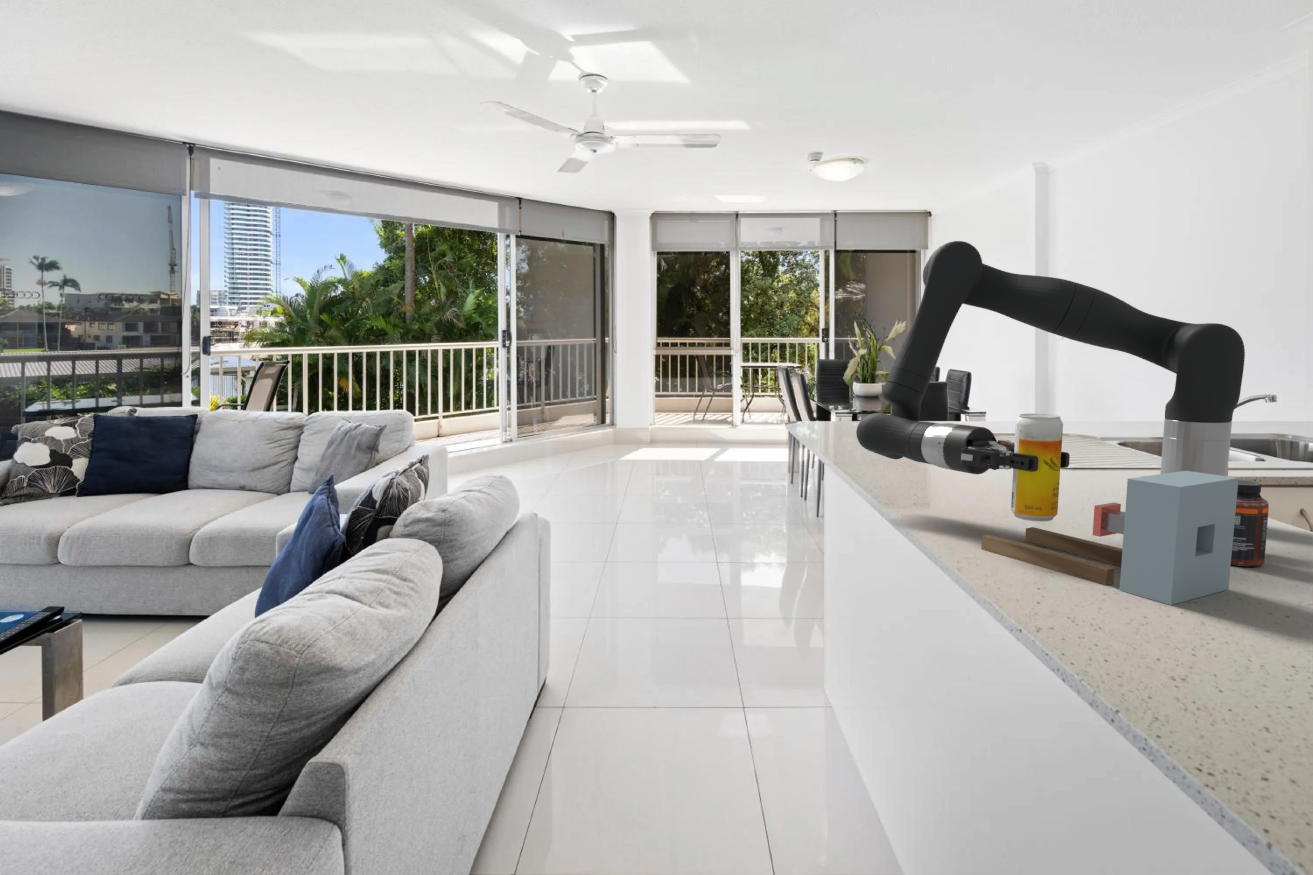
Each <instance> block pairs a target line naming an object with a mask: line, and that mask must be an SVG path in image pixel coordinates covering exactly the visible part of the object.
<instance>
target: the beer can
mask: <svg viewBox="0 0 1313 875" xmlns="http://www.w3.org/2000/svg"><path fill="white" fill-rule="evenodd" d="M1063 430H1064V423H1063V420H1062V418H1061V415H1058V414H1053V413H1052V414H1051V413H1050V414H1049V413H1021V414H1019V416H1018V418H1017V420H1016V421H1015V431H1014V432H1015V433H1014V442H1015V446H1014V453H1020V454H1026V455H1033V456H1037V457H1038V470H1037V471H1034V472H1030V471H1024V470H1018V469H1013V468H1012V485H1011V486H1012V487H1011V501H1010V502H1011V504H1010V511H1011V512H1012V513H1013V514H1014V517H1016V518H1017V519H1020V520H1024V521H1029V522H1051V521H1053V520H1054V518H1055V517H1056V516H1057V515H1058V512H1059V511H1058V510H1059V509H1058V508H1059V495H1060V479H1061V478H1060V477H1061V467H1060V466H1061V452H1062V451H1063V450H1062V447H1063V446H1062V445H1063V432H1064V431H1063Z"/></svg>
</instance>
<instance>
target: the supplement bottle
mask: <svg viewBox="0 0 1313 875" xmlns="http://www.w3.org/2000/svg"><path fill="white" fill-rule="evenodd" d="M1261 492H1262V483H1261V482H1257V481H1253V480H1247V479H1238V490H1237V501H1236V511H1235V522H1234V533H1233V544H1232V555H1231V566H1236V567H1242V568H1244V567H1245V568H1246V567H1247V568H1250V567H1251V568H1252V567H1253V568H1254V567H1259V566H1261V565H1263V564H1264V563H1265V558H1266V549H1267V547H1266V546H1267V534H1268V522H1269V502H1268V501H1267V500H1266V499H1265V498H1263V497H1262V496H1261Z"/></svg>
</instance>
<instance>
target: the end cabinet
mask: <svg viewBox="0 0 1313 875" xmlns="http://www.w3.org/2000/svg"><path fill="white" fill-rule="evenodd" d="M1238 480H1240V479H1239V477H1234V476H1233V477H1232V476H1229V475H1228V476H1220V475H1213V474H1206V473H1199V472H1192V471H1180V472H1173V473H1165V474H1159V473H1158V474H1152V475H1146V476H1138V477H1130V478H1127V482H1126V496H1125V498H1126V499H1125V510H1124V512H1125V522H1124V535H1123V537H1122V540H1123V541H1122V549H1123V550H1122V564H1121V566H1120V581H1119V591H1122V592H1124V593H1127V594H1128V593H1129V594H1131V595H1135V596H1138V597H1142V598H1145V599H1148V600H1153V601H1155V602H1159V603H1162V604H1165V605H1169V606H1172V605H1176V604H1180V603H1184V602H1187V601H1191V600H1195V599H1198V598H1201V597H1205V596H1206V597H1207V596H1210V595H1213V594H1216V593H1221V592H1224V591H1228V590H1229V586H1230V575H1231V566H1232V565H1231V555H1232V544H1233V533H1234V522H1235V511H1236V501H1237V490H1238Z"/></svg>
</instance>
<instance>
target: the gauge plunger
mask: <svg viewBox="0 0 1313 875" xmlns="http://www.w3.org/2000/svg"><path fill="white" fill-rule="evenodd" d="M1093 507H1094V508H1093V522H1092V523H1093V524H1092V536H1094V537H1095V536H1096V537H1100V538H1101V537H1106V536H1110V535H1117V534H1118V535H1119V534H1120V535H1123V536H1124V522H1125V511H1121V509H1122V508H1121V507H1122V504H1121V503H1117V502H1107V503H1102V504H1101V503H1100V504H1097V505H1094V506H1093Z"/></svg>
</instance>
